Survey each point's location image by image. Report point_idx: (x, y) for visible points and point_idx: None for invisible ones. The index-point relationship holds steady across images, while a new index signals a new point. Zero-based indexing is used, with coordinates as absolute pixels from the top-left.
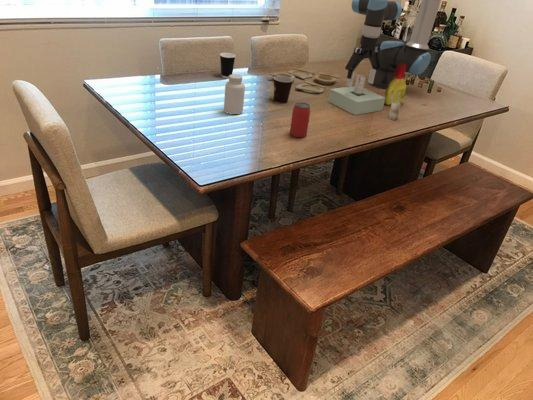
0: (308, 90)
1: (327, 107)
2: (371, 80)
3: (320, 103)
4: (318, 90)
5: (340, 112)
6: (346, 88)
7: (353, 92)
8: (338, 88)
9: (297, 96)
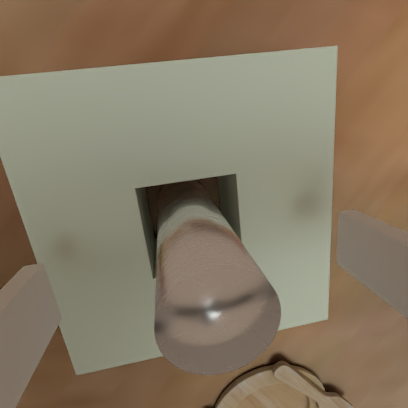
0: (311, 383)
1: (348, 204)
2: (31, 298)
3: None
4: (258, 387)
5: None
6: None
7: None
8: None
9: (378, 337)
